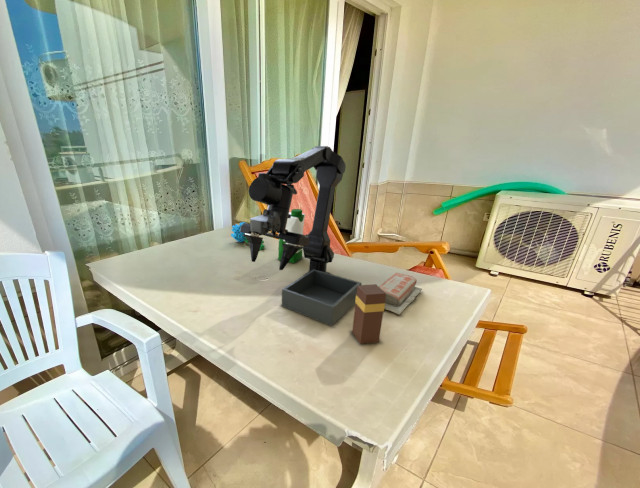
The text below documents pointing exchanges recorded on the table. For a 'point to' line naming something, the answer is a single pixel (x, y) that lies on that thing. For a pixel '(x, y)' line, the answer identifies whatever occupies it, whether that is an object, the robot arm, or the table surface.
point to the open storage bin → (320, 296)
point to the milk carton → (294, 226)
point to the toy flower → (241, 235)
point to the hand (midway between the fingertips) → (266, 265)
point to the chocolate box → (368, 313)
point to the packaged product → (399, 292)
